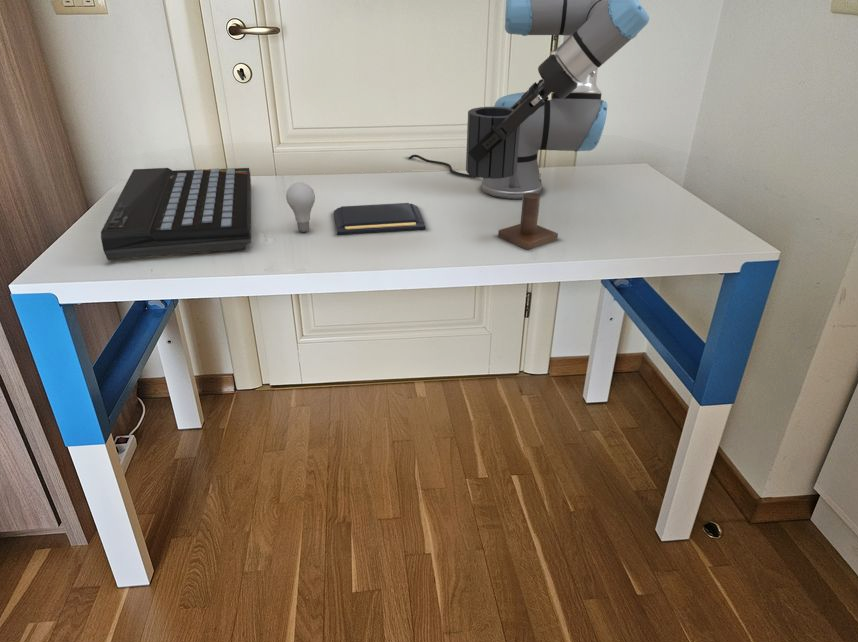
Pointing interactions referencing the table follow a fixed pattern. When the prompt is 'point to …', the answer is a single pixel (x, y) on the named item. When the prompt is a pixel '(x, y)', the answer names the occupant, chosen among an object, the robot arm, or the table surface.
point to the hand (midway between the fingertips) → (477, 149)
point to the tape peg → (528, 226)
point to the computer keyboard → (179, 213)
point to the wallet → (378, 218)
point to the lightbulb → (301, 203)
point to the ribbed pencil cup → (500, 157)
